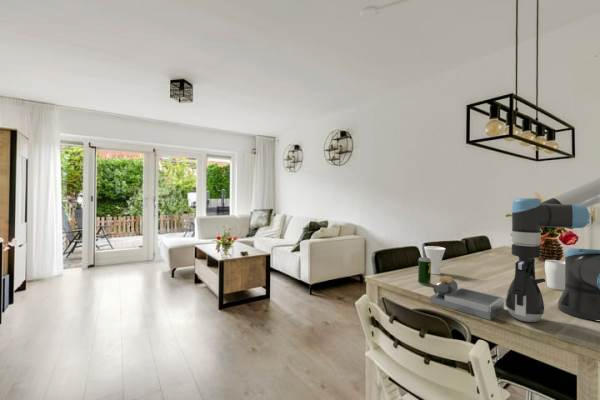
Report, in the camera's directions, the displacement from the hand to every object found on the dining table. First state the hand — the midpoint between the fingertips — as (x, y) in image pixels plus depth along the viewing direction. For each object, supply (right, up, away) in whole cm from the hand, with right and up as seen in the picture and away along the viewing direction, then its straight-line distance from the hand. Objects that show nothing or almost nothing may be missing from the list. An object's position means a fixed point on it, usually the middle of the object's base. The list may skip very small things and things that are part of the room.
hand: (524, 310), depth 96 cm
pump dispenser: (0, -3, 0) cm, 3 cm away
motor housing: (-13, -3, +12) cm, 18 cm away
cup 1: (-3, -2, +58) cm, 58 cm away
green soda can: (-17, -2, +38) cm, 42 cm away
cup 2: (+42, -3, +34) cm, 54 cm away
